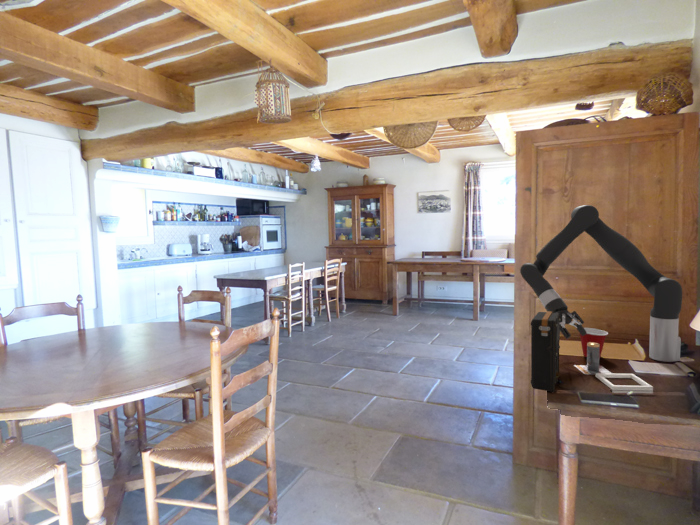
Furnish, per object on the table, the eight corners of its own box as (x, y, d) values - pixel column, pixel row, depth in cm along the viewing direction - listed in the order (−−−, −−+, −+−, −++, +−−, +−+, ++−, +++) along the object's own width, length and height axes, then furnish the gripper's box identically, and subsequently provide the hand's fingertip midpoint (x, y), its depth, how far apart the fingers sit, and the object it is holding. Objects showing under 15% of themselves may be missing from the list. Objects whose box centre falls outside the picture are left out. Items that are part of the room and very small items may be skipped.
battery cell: (596, 367, 159) (596, 342, 158) (601, 371, 155) (601, 345, 155) (585, 367, 160) (585, 342, 159) (589, 371, 156) (590, 345, 155)
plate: (600, 367, 162) (600, 365, 162) (613, 377, 152) (613, 374, 152) (573, 367, 163) (573, 364, 163) (584, 376, 153) (584, 373, 153)
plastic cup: (612, 362, 167) (612, 333, 166) (582, 362, 169) (583, 333, 168) (601, 354, 178) (602, 327, 177) (574, 354, 180) (574, 326, 179)
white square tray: (632, 379, 149) (632, 373, 149) (652, 393, 137) (653, 386, 137) (595, 379, 151) (595, 373, 151) (612, 392, 138) (612, 386, 138)
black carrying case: (557, 394, 139) (557, 320, 137) (529, 389, 143) (529, 318, 141) (562, 379, 152) (562, 311, 150) (536, 375, 156) (536, 309, 154)
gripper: (545, 299, 167) (569, 333, 158) (570, 295, 173) (596, 328, 163) (534, 309, 173) (557, 343, 163) (559, 306, 178) (583, 338, 168)
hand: (576, 336), depth 163 cm, fingers open, 8 cm apart
